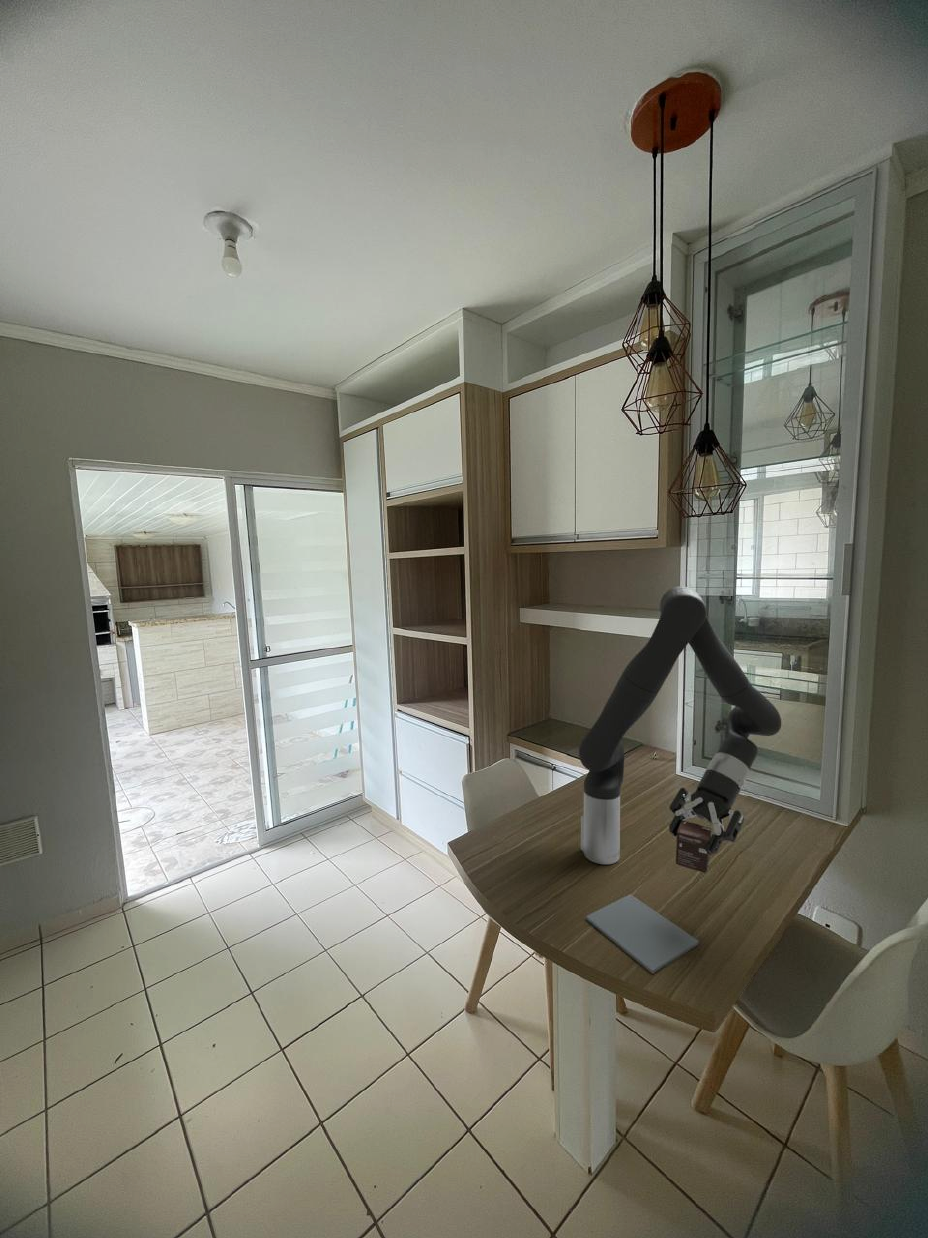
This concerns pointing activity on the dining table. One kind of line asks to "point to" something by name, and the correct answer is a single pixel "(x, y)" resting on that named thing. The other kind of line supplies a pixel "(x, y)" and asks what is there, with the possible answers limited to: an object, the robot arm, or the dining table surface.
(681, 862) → the box
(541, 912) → the dining table surface
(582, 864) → the dining table surface
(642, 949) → the mat
